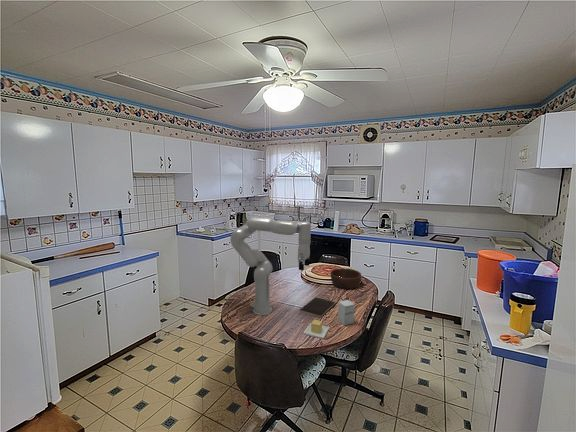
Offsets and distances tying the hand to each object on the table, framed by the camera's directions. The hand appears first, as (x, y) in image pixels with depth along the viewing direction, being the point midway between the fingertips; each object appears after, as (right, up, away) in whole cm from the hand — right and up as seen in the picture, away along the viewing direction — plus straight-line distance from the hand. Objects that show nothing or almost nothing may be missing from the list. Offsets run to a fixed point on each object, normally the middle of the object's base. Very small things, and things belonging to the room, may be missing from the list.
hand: (304, 267), depth 182 cm
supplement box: (+26, -33, -3) cm, 42 cm away
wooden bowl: (+38, -25, +57) cm, 73 cm away
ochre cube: (+7, -34, -14) cm, 38 cm away
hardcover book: (+10, -31, +15) cm, 36 cm away
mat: (+7, -35, -14) cm, 38 cm away
